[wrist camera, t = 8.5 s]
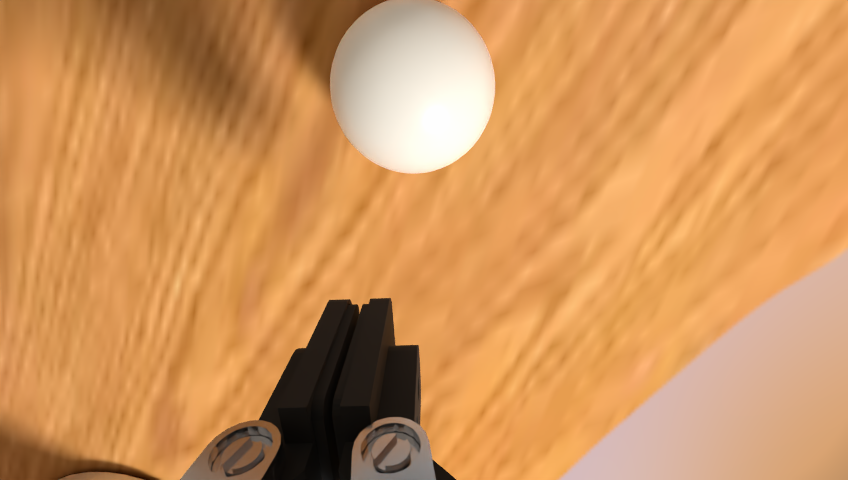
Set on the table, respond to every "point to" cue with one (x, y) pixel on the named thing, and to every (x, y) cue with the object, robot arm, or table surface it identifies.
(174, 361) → the table surface
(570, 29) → the table surface
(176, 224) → the table surface
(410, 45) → the cue ball
